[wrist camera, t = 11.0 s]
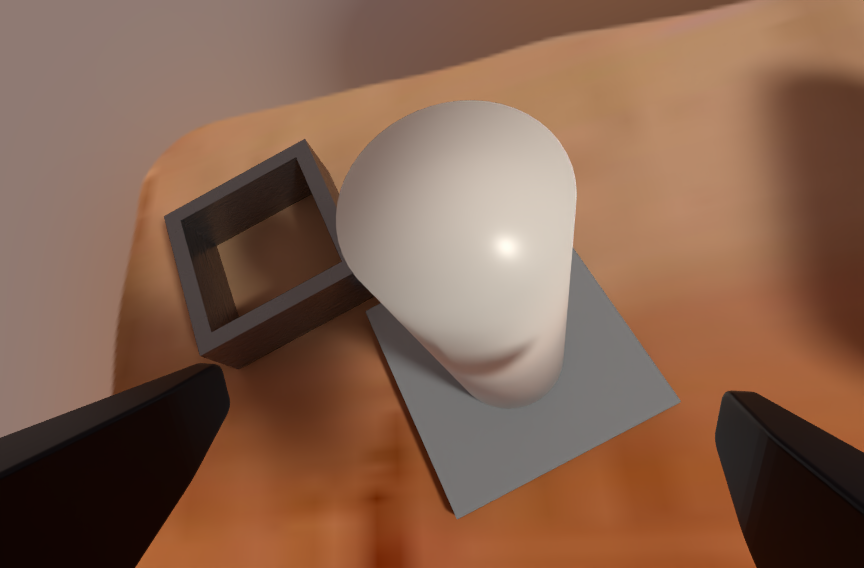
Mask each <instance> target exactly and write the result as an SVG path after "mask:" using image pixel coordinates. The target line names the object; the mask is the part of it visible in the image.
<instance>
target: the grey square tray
mask: <svg viewBox="0 0 864 568" xmlns="http://www.w3.org/2000/svg"><path fill="white" fill-rule="evenodd" d="M310 194H313V197H314V199H315V201H316V204H317V206H318V208H319V210H320V213H321V215H322V217H323V219H324V222H325V224H326V226H327V229H328V231H329V233H330V235H331V238H332V240H333V242H334V244H335V247H336V249H337V251H338V254H339V256H340V258H341V260H342V262H340V263H339V264H337V265H335V266H333V267H331V268H329V269H328V270H326V271H324V272H322V273H320V274H318V275H316V276H315V277H313V278H311V279H309V280H307V281H305V282H304V283H302V284H300V285H298V286H296V287H294V288H293V289H291V290H289V291H287V292H285V293H283V294H281V295H280V296H278V297H276V298H274V299H272V300H270V301H269V302H267V303H265V304H263V305H261V306H259V307H257V308H256V309H254V310H252V311H250V312H248V313H246V314H245V315H243V316H241V317H238V314H237V311H236V307H235V304H234V301H233V298H232V294H231V291H230V288H229V285H228V281H227V278H226V275H225V272H224V268H223V265H222V262H221V259H220V255H219V252H218V249H217V245H219V244H220V243H222V242H224V241H226V240H228V239H230V238H231V237H233V236H235V235H237V234H239V233H240V232H242V231H244V230H246V229H248V228H250V227H251V226H253V225H255V224H257V223H259V222H261V221H262V220H264V219H266V218H268V217H270V216H272V215H273V214H275V213H277V212H279V211H281V210H283V209H284V208H286V207H288V206H290V205H292V204H294V203H295V202H297V201H299V200H301V199H303V198H304V197H306V196H308V195H310ZM338 198H339V193H338V191H337V189H336V186H335V184H334V182H333V180H332V178H331V176H330V174H329V172H328V170H327V169H326V167H325V166H324V165H323V163H322V162H321V161H320V159H319V158H318V156H317V155H316V154H315V152H314V151H313V149H312V148H311V147H310V145H309V144H308V143H307V141H306V140H305V139H304V140H302V141H300V142H298V143H296V144H295V145H293V146H291V147H289V148H287V149H285V150H284V151H282V152H280V153H278V154H276V155H275V156H273V157H271V158H269V159H267V160H265V161H264V162H262V163H260V164H258V165H256V166H255V167H253V168H251V169H249V170H247V171H245V172H244V173H242V174H240V175H238V176H236V177H235V178H233V179H231V180H229V181H227V182H226V183H224V184H222V185H220V186H218V187H216V188H215V189H213V190H211V191H209V192H207V193H206V194H204V195H202V196H200V197H198V198H196V199H195V200H193V201H191V202H189V203H187V204H186V205H184V206H182V207H180V208H178V209H176V210H175V211H173V212H171V213H169V214H167V215H166V216H164V219H165V223H166V226H167V230H168V234H169V238H170V242H171V246H172V250H173V253H174V257H175V261H176V265H177V269H178V273H179V277H180V281H181V284H182V288H183V292H184V296H185V300H186V304H187V308H188V311H189V315H190V319H191V323H192V327H193V331H194V335H195V339H196V342H197V346H198V350H199V354H200V356H201V357H204V358H207V359H210V360H213V361H216V362H219V363H222V364H225V365H227V366H230V367H233V368H236V369H240V368H242V367H244V366H246V365H247V364H249V363H251V362H253V361H255V360H257V359H259V358H260V357H262V356H264V355H266V354H268V353H270V352H272V351H273V350H275V349H277V348H279V347H281V346H283V345H284V344H286V343H288V342H290V341H292V340H294V339H296V338H297V337H299V336H301V335H303V334H305V333H307V332H309V331H310V330H312V329H314V328H316V327H318V326H320V325H322V324H323V323H325V322H327V321H329V320H331V319H333V318H335V317H336V316H338V315H340V314H342V313H344V312H346V311H348V310H349V309H351V308H353V307H355V306H357V305H359V304H360V303H362V302H364V301H366V300H368V299H370V298H372V297H373V296H374V295H373V294H372V293H371V292H370V291H369V290H368V289H367V288H366V287H365V286H364V285H363V284H362V283H361V282H360V281H359V280H358V279H357V278H356V276H355V275H354V274H353V272H352V271H351V269H350V268H349V267H348V265H347V263H346V261H345V259H344V257H343V255H342V252H341V249H340V245H339V242H338V237H337V231H336V210H337V202H338Z"/></svg>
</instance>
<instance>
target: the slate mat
mask: <svg viewBox="0 0 864 568" xmlns="http://www.w3.org/2000/svg"><path fill="white" fill-rule="evenodd" d="M365 312H366V314H367V316H368V319H369V321H370V323H371V325H372V328H373V330H374V332H375V335H376V337H377V339H378V341H379V344H380V346H381V348H382V350H383V353H384V355H385V357H386V359H387V362H388V364H389V366H390V369H391V371H392V373H393V375H394V378H395V380H396V382H397V384H398V387H399V389H400V391H401V393H402V396H403V398H404V400H405V403H406V405H407V407H408V409H409V412H410V414H411V416H412V418H413V421H414V423H415V425H416V427H417V430H418V432H419V434H420V437H421V439H422V441H423V443H424V446H425V448H426V450H427V452H428V455H429V457H430V459H431V461H432V464H433V466H434V468H435V471H436V473H437V475H438V477H439V480H440V482H441V484H442V486H443V489H444V491H445V493H446V495H447V498H448V500H449V502H450V505H451V507H452V509H453V511H454V514H455V516H456V518H457V519H459V518H461V517H463V516H465V515H467V514H468V513H470V512H472V511H474V510H476V509H478V508H480V507H482V506H484V505H486V504H488V503H489V502H491V501H493V500H495V499H497V498H499V497H501V496H503V495H505V494H507V493H508V492H510V491H512V490H514V489H516V488H518V487H520V486H522V485H524V484H526V483H527V482H529V481H531V480H533V479H535V478H537V477H539V476H541V475H543V474H545V473H547V472H548V471H550V470H552V469H554V468H556V467H558V466H560V465H562V464H564V463H566V462H567V461H569V460H571V459H573V458H575V457H577V456H579V455H581V454H583V453H585V452H587V451H588V450H590V449H592V448H594V447H596V446H598V445H600V444H602V443H604V442H606V441H607V440H609V439H611V438H613V437H615V436H617V435H619V434H621V433H623V432H625V431H627V430H628V429H630V428H632V427H634V426H636V425H638V424H640V423H642V422H644V421H646V420H647V419H649V418H651V417H653V416H655V415H657V414H659V413H661V412H663V411H665V410H666V409H668V408H670V407H672V406H674V405H676V404H678V403H680V402H681V401H680V399H679V398H678V396H677V395H676V394H675V392H674V391H673V389H672V388H671V387H670V385H669V384H668V382H667V381H666V379H665V378H664V377H663V375H662V374H661V372H660V371H659V369H658V368H657V367H656V365H655V364H654V362H653V361H652V359H651V358H650V357H649V355H648V354H647V352H646V351H645V349H644V348H643V347H642V345H641V344H640V342H639V341H638V340H637V338H636V337H635V335H634V334H633V332H632V331H631V330H630V328H629V327H628V325H627V324H626V322H625V321H624V320H623V318H622V317H621V315H620V314H619V312H618V311H617V310H616V308H615V307H614V305H613V304H612V302H611V301H610V300H609V298H608V297H607V295H606V294H605V292H604V291H603V290H602V288H601V287H600V285H599V284H598V283H597V281H596V280H595V278H594V277H593V275H592V274H591V273H590V271H589V270H588V268H587V267H586V265H585V264H584V263H583V261H582V260H581V258H580V257H579V255H578V254H577V253H576V251H575V250H574V248H572V260H571V273H570V285H569V297H568V309H567V322H566V334H565V346H564V358H563V366H562V370H561V373H560V375H559V378H558V379H557V381H556V383H555V385H554V386H553V387H552V389H551V390H550V391H549V392H548V393H547V394H546V395H545V396H543V397H542V398H541V399H539V400H538V401H536V402H534V403H532V404H530V405H527V406H524V407H520V408H514V409H503V408H496V407H493V406H489V405H487V404H485V403H483V402H481V401H479V400H477V399H476V398H475V397H473V396H472V395H471V394H470V393H469V392H468V391H467V390H466V389H465V388H464V387H463V386H462V385H461V384H460V383H459V382H458V381H457V380H456V379H455V378H454V377H453V376H452V375H451V374H450V373H449V372H448V371H447V370H446V369H445V368H444V367H443V366H442V365H441V364H440V362H439V361H438V360H437V359H436V358H435V357H434V356H433V355H432V354H431V353H430V352H429V351H428V350H427V349H426V348H425V347H424V346H423V345H422V344H421V343H420V342H419V341H418V340H417V339H416V338H415V337H414V336H413V335H412V334H411V333H410V332H409V331H408V330H407V329H406V328H405V327H404V326H403V325H402V324H401V323H400V322H399V321H398V320H397V319H396V318H395V317H394V316H393V315H392V314H391V313H390V311H389V310H388V309H387V308H386V307H385V306H384V305H383V304H382V303H380V304H378V305H376V306H374V307H372V308H371V309H369V310H367V311H365Z"/></svg>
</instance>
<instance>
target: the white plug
mask: <svg viewBox="0 0 864 568" xmlns="http://www.w3.org/2000/svg"><path fill="white" fill-rule="evenodd" d="M576 198H577V191H576V180H575V175H574V172H573V168H572V164H571V162H570V160H569V157H568V155H567V153H566V151H565V150H564V148H563V146H562V145H561V143H560V142H559V140H558V139H557V138H556V137H555V136H554V135H553V133H552V132H551V131H550V130H549V129H547V128H546V127H545V126H544V125H543V124H542V123H540V122H539V121H538V120H536V119H535V118H533V117H531V116H530V115H528V114H526V113H524V112H522V111H520V110H518V109H516V108H513V107H509V106H506V105H503V104H499V103H494V102H489V101H477V100H466V101H453V102H446V103H441V104H437V105H433V106H430V107H427V108H424V109H421V110H418V111H416V112H414V113H412V114H409V115H407V116H405V117H403V118H402V119H400V120H398V121H397V122H395V123H393V124H392V125H390V126H389V127H388V128H386V129H385V130H383V131H382V132H381V133H380V134H378V135H377V136H376V137H375V138H374V139H373V140H372V141H371V142H370V143H369V144H368V145H367V146H366V147H365V148H364V150H363V151H362V152H361V153H360V154H359V156H358V157H357V159H356V160H355V162H354V163H353V164H352V166H351V168H350V170H349V172H348V174H347V175H346V177H345V180H344V182H343V185H342V187H341V190H340V194H339V198H338V202H337V210H336V231H337V237H338V242H339V245H340V249H341V252H342V255H343V257H344V259H345V261H346V263H347V265H348V267H349V268H350V269H351V271H352V272H353V274H354V275H355V276H356V278H357V279H358V280H359V281H360V282H361V283H362V284H363V285H364V286H365V287H366V288H367V289H368V290H369V291H370V292H371V293H372V294H373V295H374V296H375V297H376V298H377V299H378V300H379V301H380V302H381V303H382V304H383V305H384V306H385V307H386V308H387V309H388V310H389V311H390V313H391V314H392V315H393V316H394V317H395V318H396V319H397V320H398V321H399V322H400V323H401V324H402V325H403V326H404V327H405V328H406V329H407V330H408V331H409V332H410V333H411V334H412V335H413V336H414V337H415V338H416V339H417V340H418V341H419V342H420V343H421V344H422V345H423V346H424V347H425V348H426V349H427V350H428V351H429V352H430V353H431V354H432V355H433V356H434V357H435V358H436V359H437V360H438V361H439V362H440V364H441V365H442V366H443V367H444V368H445V369H446V370H447V371H448V372H449V373H450V374H451V375H452V376H453V377H454V378H455V379H456V380H457V381H458V382H459V383H460V384H461V385H462V386H463V387H464V388H465V389H466V390H467V391H468V392H469V393H470V394H471V395H472V396H473V397H475V398H476V399H477V400H479V401H481V402H483V403H485V404H487V405H489V406H493V407H496V408H503V409H514V408H520V407H524V406H527V405H530V404H532V403H534V402H536V401H538V400H539V399H541V398H542V397H543V396H545V395H546V394H547V393H548V392H549V391H550V390H551V389H552V387H553V386H554V385H555V383H556V381H557V379H558V378H559V375H560V373H561V370H562V366H563V358H564V346H565V334H566V322H567V309H568V297H569V285H570V273H571V260H572V248H573V236H574V224H575V212H576Z"/></svg>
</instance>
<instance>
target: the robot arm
mask: <svg viewBox="0 0 864 568" xmlns="http://www.w3.org/2000/svg"><path fill="white" fill-rule="evenodd" d="M229 407H230V399H229V395H228V391H227V387H226V383H225V379H224V375H223V371H222V369H221V368H220V366H218V365H216V364H203V363H199V364H195V365H192V366H190V367H187V368H184V369H182V370H179V371H176V372H174V373H171V374H168V375H166V376H163V377H160V378H158V379H155V380H152V381H150V382H147V383H144V384H142V385H139V386H137V387H134V388H131V389H129V390H126V391H123V392H121V393H118V394H115V395H113V396H110V397H108V398H105V399H102V400H100V401H97V402H94V403H92V404H89V405H86V406H84V407H81V408H78V409H76V410H73V411H70V412H68V413H65V414H62V415H60V416H57V417H55V418H52V419H49V420H46V421H44V422H41V423H39V424H36V425H33V426H31V427H28V428H25V429H23V430H20V431H17V432H15V433H12V434H9V435H7V436H4V437H1V438H0V568H135V567H136V565H137V564H138V562H139V561H140V559H141V558H142V556H143V555H144V553H145V552H146V550H147V549H148V547H149V546H150V544H151V543H152V541H153V540H154V538H155V536H156V535H157V533H158V532H159V530H160V529H161V527H162V526H163V524H164V523H165V521H166V520H167V518H168V517H169V515H170V514H171V512H172V511H173V509H174V507H175V506H176V504H177V503H178V501H179V500H180V498H181V497H182V495H183V494H184V492H185V491H186V489H187V487H188V486H189V484H190V483H191V481H192V479H193V477H194V476H195V474H196V472H197V470H198V468H199V467H200V465H201V463H202V461H203V459H204V457H205V455H206V453H207V451H208V449H209V448H210V446H211V444H212V442H213V440H214V438H215V436H216V434H217V432H218V431H219V429H220V427H221V425H222V423H223V421H224V419H225V417H226V415H227V413H228V411H229ZM715 442H716V447H717V451H718V454H719V458H720V461H721V464H722V468H723V471H724V474H725V478H726V481H727V484H728V488H729V491H730V494H731V498H732V501H733V504H734V507H735V511H736V514H737V517H738V521H739V524H740V527H741V530H742V533H743V536H744V538H745V541H746V543H747V546H748V548H749V551H750V553H751V556H752V558H753V560H754V563H755V565H756V567H757V568H864V453H863V452H862V451H860V450H858V449H856V448H854V447H853V446H851V445H849V444H847V443H845V442H844V441H842V440H840V439H838V438H836V437H835V436H833V435H831V434H829V433H827V432H826V431H824V430H822V429H820V428H818V427H817V426H815V425H813V424H811V423H809V422H808V421H806V420H804V419H802V418H800V417H799V416H797V415H795V414H793V413H791V412H790V411H788V410H786V409H784V408H782V407H781V406H779V405H777V404H775V403H774V402H772V401H770V400H768V399H766V398H765V397H763V396H761V395H759V394H757V393H755V392H749V391H727V392H726V393H725V394H724V395H723V397H722V401H721V406H720V411H719V416H718V421H717V427H716V432H715Z"/></svg>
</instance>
